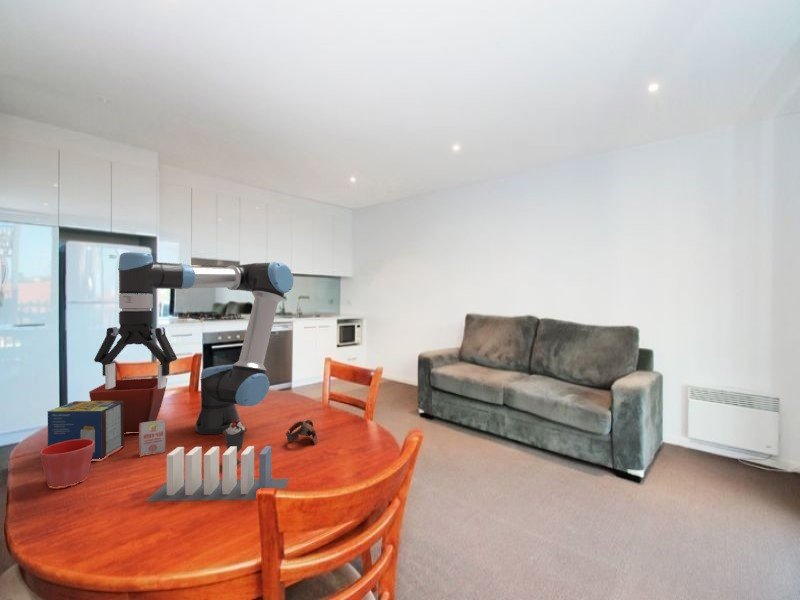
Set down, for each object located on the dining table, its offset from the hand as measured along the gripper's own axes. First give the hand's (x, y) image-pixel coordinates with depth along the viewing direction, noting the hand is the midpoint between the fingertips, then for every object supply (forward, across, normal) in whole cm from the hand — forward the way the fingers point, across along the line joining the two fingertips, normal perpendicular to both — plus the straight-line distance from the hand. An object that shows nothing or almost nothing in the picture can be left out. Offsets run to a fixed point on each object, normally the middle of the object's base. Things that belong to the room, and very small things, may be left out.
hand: (136, 387), depth 101 cm
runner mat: (+25, +26, -8) cm, 37 cm away
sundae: (+25, +24, +7) cm, 35 cm away
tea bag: (+25, -5, +16) cm, 30 cm away
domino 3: (+24, +24, -8) cm, 35 cm away
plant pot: (+25, -25, +37) cm, 51 cm away
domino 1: (+24, +15, -8) cm, 29 cm away
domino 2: (+24, +19, -8) cm, 32 cm away
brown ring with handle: (+25, +41, +23) cm, 53 cm away
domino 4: (+24, +28, -8) cm, 38 cm away
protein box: (+25, -24, +15) cm, 38 cm away
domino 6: (+24, +37, -8) cm, 45 cm away
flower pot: (+25, -16, -2) cm, 30 cm away
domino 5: (+24, +32, -8) cm, 41 cm away
